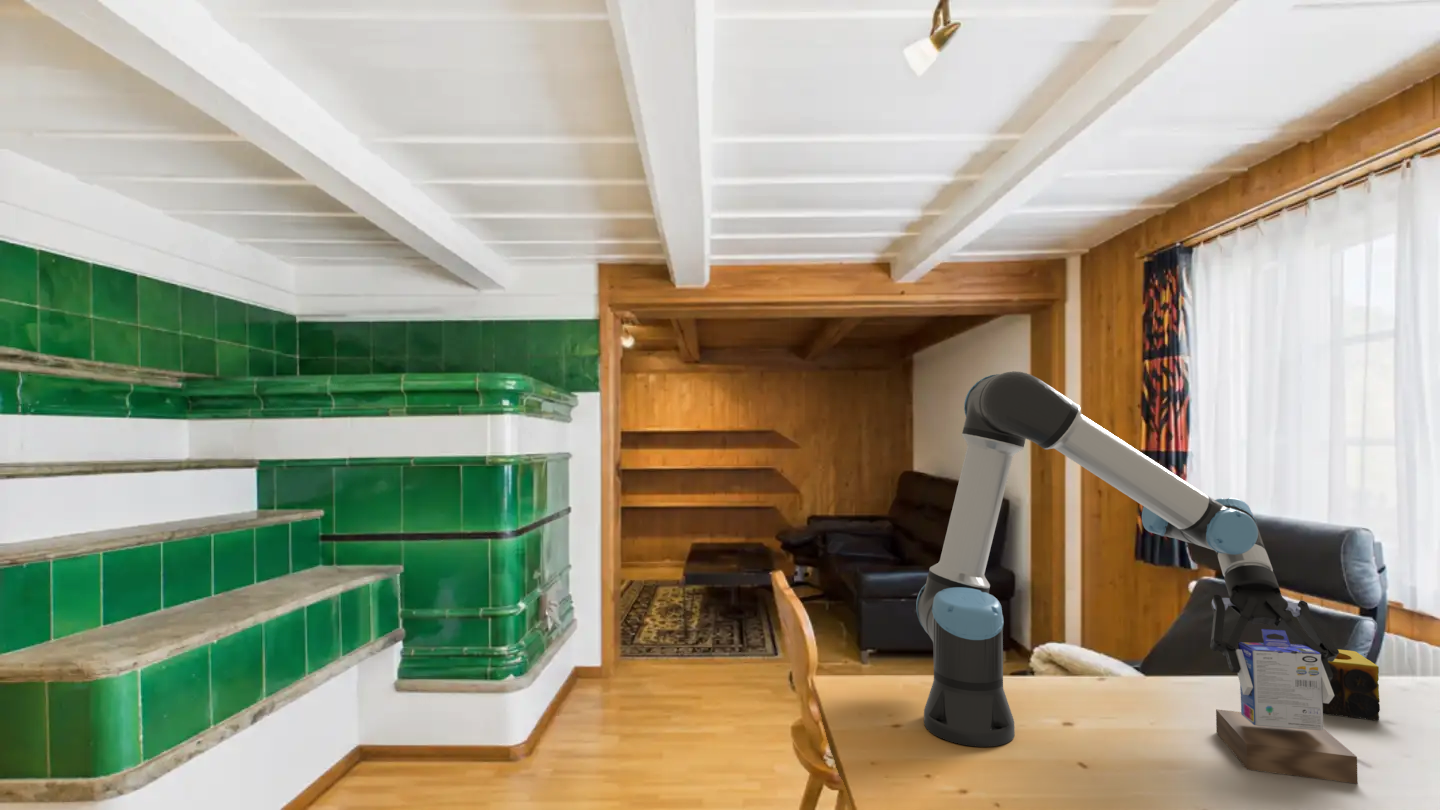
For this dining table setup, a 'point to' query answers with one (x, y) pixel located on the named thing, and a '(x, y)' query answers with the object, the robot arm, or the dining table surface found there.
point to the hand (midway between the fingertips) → (1287, 695)
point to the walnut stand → (1286, 749)
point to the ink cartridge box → (1282, 683)
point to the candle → (1354, 687)
